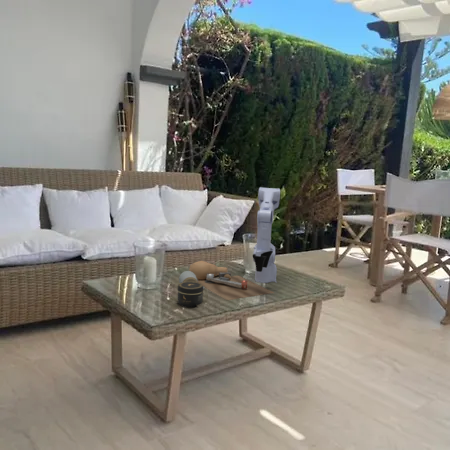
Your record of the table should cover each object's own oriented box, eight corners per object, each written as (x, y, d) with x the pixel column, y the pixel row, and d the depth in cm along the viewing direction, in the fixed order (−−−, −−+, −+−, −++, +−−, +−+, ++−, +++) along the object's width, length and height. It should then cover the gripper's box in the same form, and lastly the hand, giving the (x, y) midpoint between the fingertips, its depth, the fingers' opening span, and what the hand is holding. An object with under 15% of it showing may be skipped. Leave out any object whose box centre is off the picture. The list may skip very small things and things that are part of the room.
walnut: (228, 279, 223) (228, 272, 223) (231, 281, 221) (232, 274, 220) (222, 280, 222) (222, 273, 221) (225, 282, 219) (226, 275, 218)
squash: (183, 279, 224) (184, 259, 225) (216, 278, 238) (217, 260, 238) (198, 281, 216) (199, 261, 217) (231, 280, 230) (232, 261, 230)
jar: (172, 305, 189) (173, 286, 188) (183, 297, 199) (184, 279, 197) (196, 309, 186) (197, 290, 185) (206, 301, 195) (207, 283, 194)
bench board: (238, 277, 231) (238, 269, 231) (274, 295, 208) (275, 286, 207) (193, 283, 219) (193, 274, 218) (226, 302, 195) (227, 293, 195)
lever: (204, 280, 218) (205, 274, 217) (210, 278, 222) (210, 271, 221) (245, 289, 208) (245, 282, 208) (250, 286, 213) (250, 279, 212)
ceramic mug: (181, 293, 203) (182, 276, 202) (178, 287, 211) (179, 270, 210) (206, 293, 206) (207, 275, 205) (202, 287, 214) (203, 270, 213)
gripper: (259, 234, 214) (257, 264, 216) (249, 239, 201) (247, 271, 203) (275, 235, 212) (273, 266, 214) (265, 241, 198) (263, 274, 201)
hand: (261, 269), depth 208 cm, fingers open, 7 cm apart
